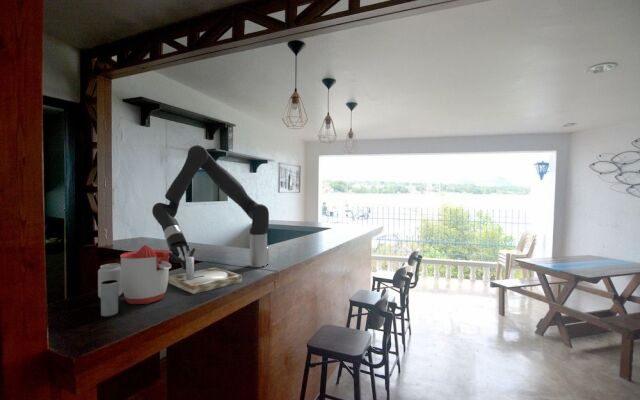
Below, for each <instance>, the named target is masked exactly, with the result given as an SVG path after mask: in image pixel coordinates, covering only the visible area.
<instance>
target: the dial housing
mask: <svg viewBox="0 0 640 400" xmlns="http://www.w3.org/2000/svg"><path fill="white" fill-rule="evenodd" d="M200 271H223V272H226V273H227V278H223V279H218V280H214V281H209V282H205V283H200V284H192V283H190V282H188V281H185V280H183V277H184V276H185V275H186V272H183V273H177V274H172V275H169V278H168V284H170V285H172V286H174V287H177V288H179V289H180V290H183V291H185V292H187V293H190V294H192V295H196V294H200V293H202V292H208V291H211V290H215V289H218V288H219V289H220V288H224V287H228V286H232V285H236V284H241V283H242V282H243V275H242V274H241V273H240V274H239V273H235V272H232V271H229V270H226V269H222V268H220V267H216V266H215V267H210V268H209V267H208V268H205V269H199V270H194V272H200Z"/></svg>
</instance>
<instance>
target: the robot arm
mask: <svg viewBox="0 0 640 400" xmlns="http://www.w3.org/2000/svg"><path fill="white" fill-rule="evenodd" d="M200 169H201V170H202V171H204V173H206V174H207V176H208V177H209V178H210V179H211V180H212V182H213V183H214V184H215V185H216V186H217V187H218V188H219V189H220V190H221V192H223V193H224V194H225V195H226V196H227V197H228V198H229V199H231V201H233V202H234V203H236V205H238V207H240V208H241V209H242V211H243V212H245V214H246V215H247V216H248V217H249V218H250V220H251V227H250V228H249V267H250V268H263V267H262V266H264V267H267V266H268V265H267V264H269V263H270V262H269V258H270V257H269V256H270V254H269V253H270V252H269V250H270V249H269V247H268V231H269V222H270V220H269V219H270V212H269V209H268V207H267V206H266V205H265V204H263V203H262V204H261V203H258V202H257V201H255V200H253V199H252V198H251V197H250V195H249V194H247V191H246V190H245V188H244V187H243V185H242V184H241V183H240V182H239V180H238V179H236V177H234V176H233V175H232V174H231V173H230V172H229V171H228V170H226V169H225V168H224V167H223V166H221V165H220V164H219V163H218V162H217V161H216V160H215V159H214V158H213V156H212V155H211V154H210V153H209V152H208V151H207V149H206V148H205V147H203V146H202V145H198V144H197V145H196V144H195V145H193V146H191V147H190V148H189V149H188V151H187V156H186V159H185V161H184V164H183V167H182V168H181V170H180V171H179V173H178V174H177V175H176V177H175V179H174V180H173V181H172V183H171V185H169V188H168V189H167V191H166V193H165V195H164V198H165V199H167V201H169V202H168V204H166V203H163V202H157V203H155V204H154V205H153V206H152V209H151V210H152V211H151V212H152V215H153V218H155V220H156V221H157V223H158V224H159V225H160V226H161V229H162V231H163V235H164V238H165V239H164V240H165V241H166V245H167V246H168V251H169V260H171V261H172V262H173V263H175V264H180V266H181V267H182V270H184V271H186V257H194V254H195V252H196V248H195V247H193V248H191V247H190V246H189V245H188V243H187V240H186V237H185V235H184V232H183V231H182V228H181V227H180V223H178V220H177V219H176V218H175V216H176V215H177V213H178V209H179V206H180V202H181V200H182V198H183V196H184V195H185V193H186V191H187V189H188V188H189V187H190V184H191V182H192V180H193V178H195V175H197V172H198V171H199V170H200ZM188 254H189V256H188ZM266 265H267V266H266ZM269 265H270V264H269Z"/></svg>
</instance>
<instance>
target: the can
mask: <svg viewBox="0 0 640 400" xmlns="http://www.w3.org/2000/svg"><path fill="white" fill-rule="evenodd" d="M99 267H100V268H99V269H98V270H97V294H98V295H97V296H98V298H99V299H101V282H103V281H107V280H118V298H119V297H120V296H121V295H122V294H124V293H123V290H122V286H121V263H115V262H114V263H107V264H102V265H100V266H99Z"/></svg>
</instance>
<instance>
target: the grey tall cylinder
mask: <svg viewBox="0 0 640 400" xmlns="http://www.w3.org/2000/svg"><path fill="white" fill-rule="evenodd" d="M118 313H119V297H118V280H107V281H103V282H101V298H100V315H101V317H111V316H115V315H116V314H118Z"/></svg>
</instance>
